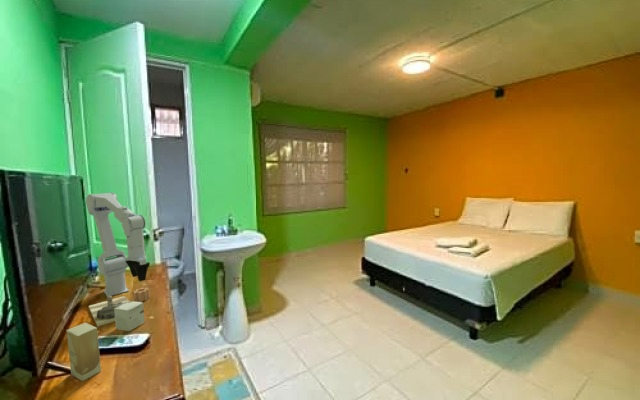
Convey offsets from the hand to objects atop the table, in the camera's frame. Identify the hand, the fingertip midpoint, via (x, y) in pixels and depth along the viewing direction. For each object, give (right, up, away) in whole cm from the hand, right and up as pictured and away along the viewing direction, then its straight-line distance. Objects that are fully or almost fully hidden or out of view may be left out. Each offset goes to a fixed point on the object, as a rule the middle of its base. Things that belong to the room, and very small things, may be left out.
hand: (138, 278), depth 118 cm
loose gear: (0, -9, +2) cm, 9 cm away
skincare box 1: (+13, -14, -42) cm, 46 cm away
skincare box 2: (+9, -11, -19) cm, 24 cm away
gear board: (-5, -10, -8) cm, 14 cm away
